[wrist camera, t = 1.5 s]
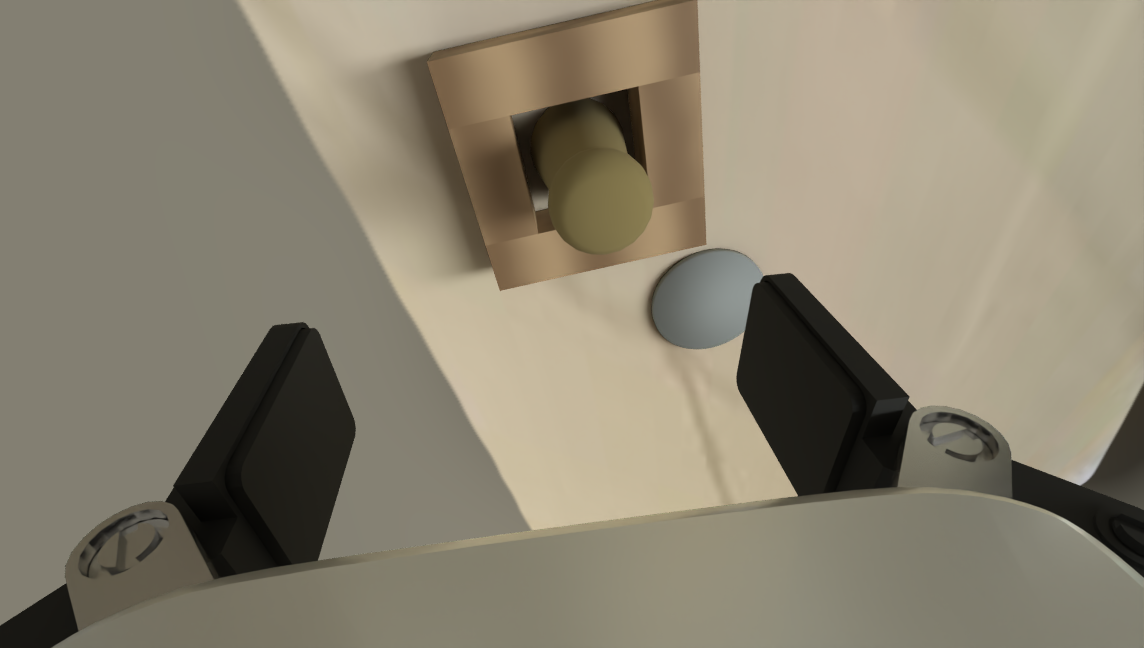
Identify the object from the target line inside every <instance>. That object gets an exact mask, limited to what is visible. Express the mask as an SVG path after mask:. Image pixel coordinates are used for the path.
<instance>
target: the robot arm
mask: <svg viewBox="0 0 1144 648" xmlns="http://www.w3.org/2000/svg"><path fill="white" fill-rule="evenodd" d="M737 386H738V390H739V392H740V394H741V395H742V397H743V399H744V401H745V402H746V404H747V406H748V408H749V410H750V411H751V413H752V415H753V417H754V418H755V420H756V422H757V424H758V425H759V427H760V429H761V431H762V433H763V434H764V436H765V438H766V440H767V441H768V443H769V445H770V447H771V448H772V450H773V452H774V454H775V456H776V457H777V459H778V461H779V463H780V464H781V466H782V468H783V470H784V471H785V473H786V475H787V477H788V479H789V480H790V482H791V484H792V486H793V487H794V489H795V491H796V493H797V494H798V496H797V497H788V498H779V499H771V500H763V501H755V502H747V503H739V504H732V505H724V506H716V507H708V508H700V509H692V510H685V511H677V512H669V513H661V514H653V515H646V516H638V517H630V518H623V519H615V520H608V521H600V522H593V523H585V524H577V525H570V526H562V527H555V528H548V529H540V530H533V531H525V532H518V533H511V534H503V535H495V536H488V537H481V538H474V539H467V540H460V541H452V542H445V543H437V544H431V545H423V546H416V547H409V548H401V549H395V550H387V551H380V552H373V553H365V554H358V555H352V556H345V557H339V558H332V559H326V560H320V561H318V558H319V555H320V551H321V548H322V544H323V541H324V538H325V535H326V531H327V528H328V524H329V521H330V518H331V515H332V511H333V508H334V505H335V501H336V498H337V495H338V491H339V488H340V485H341V481H342V478H343V474H344V471H345V468H346V464H347V461H348V458H349V455H350V451H351V448H352V444H353V441H354V438H355V431H356V430H355V429H356V428H355V421H354V418H353V415H352V413H351V410H350V408H349V406H348V403H347V401H346V398H345V396H344V393H343V391H342V388H341V386H340V383H339V381H338V378H337V376H336V373H335V371H334V368H333V366H332V364H331V361H330V359H329V356H328V354H327V351H326V349H325V346H324V344H323V341H322V339H321V336H320V334H319V332H318V331H317V330H316V329H315V328H311V329H310V328H309V327H308V325H307V324H306V323H303V322H301V323H291V324H281V325H274V326H273V327H272V328H271V329H270V330H269V332H268V333H267V335H266V337H265V338H264V340H263V342H262V343H261V345H260V346H259V348H258V349H257V352H256V353H255V354H254V356H253V358H252V359H251V361H250V363H249V364H248V366H247V367H246V369H245V370H244V372H243V374H242V375H241V377H240V379H239V380H238V382H237V383H236V385H235V387H234V388H233V390H232V391H231V393H230V395H229V396H228V398H227V400H226V401H225V403H224V405H223V406H222V408H221V410H220V411H219V413H218V414H217V416H216V418H215V419H214V421H213V422H212V424H211V425H210V427H209V429H208V430H207V432H206V434H205V435H204V437H203V438H202V440H201V442H200V443H199V445H198V446H197V448H196V450H195V451H194V453H193V454H192V456H191V458H190V459H189V461H188V463H187V464H186V466H185V467H184V469H183V471H182V472H181V474H180V475H179V477H178V479H177V480H176V482H175V484H174V485H173V486H174V488H173V490H172V492H171V493H170V495H169V496H168V498H167V500H166V501H165V502H163V501H154V502H145V503H142V504H138V505H134V506H131V507H129V508H127V509H125V510H122V511H120V512H118V513H116V514H114V515H112V516H111V517H109V518H108V519H106V520H105V521H103V522H102V523H100V524H99V525H97V526H96V527H95V528H94V529H93V530H91V531H90V532H89V533H88V534H87V535H86V536H85V537H83V539H82V540H81V541H80V542H79V543H78V545H77V546H76V547H75V548H74V550H73V551H72V552H71V554H70V557H69V559H68V561H67V563H66V565H65V579H66V584H64V585H63V586H61V587H60V588H58V589H57V590H55V591H54V592H52V593H50V594H49V595H47V596H46V597H44V598H43V599H41V600H39V601H38V602H36V603H35V604H33V605H32V606H30V607H29V608H27V609H26V610H24V611H22V612H21V613H19V614H18V615H16V616H15V617H13V618H11V619H10V620H8V621H7V622H5V623H4V624H2V625H1V626H0V648H1144V510H1142V509H1140V508H1137V507H1135V506H1132V505H1130V504H1127V503H1124V502H1121V501H1119V500H1116V499H1113V498H1111V497H1108V496H1106V495H1103V494H1100V493H1097V492H1095V491H1093V490H1090V489H1087V488H1085V487H1082V486H1079V485H1077V484H1074V483H1071V482H1069V481H1066V480H1063V479H1061V478H1058V477H1056V476H1053V475H1050V474H1048V473H1045V472H1042V471H1040V470H1037V469H1034V468H1032V467H1029V466H1027V465H1024V464H1021V463H1019V462H1016V461H1013V460H1011V451H1010V447H1009V444H1008V442H1007V441H1006V439H1005V438H1004V437H1003V435H1002V434H1001V433H1000V432H999V431H998V430H996V429H995V428H994V427H993V426H992V425H990V424H989V423H988V422H986V421H984V420H982V419H981V418H979V417H977V416H975V415H973V414H970V413H968V412H965V411H963V410H960V409H955V408H951V407H947V406H928V407H923V408H920V409H918V410H916V409H915V408H914V406H913V405H912V404H911V403H910V402H909V401H908V399H909V396H908V395H907V394H906V393H905V391H904V390H903V389H902V388H901V387H900V386H899V385H898V384H897V383H896V382H895V381H894V380H893V379H892V378H891V377H890V376H889V375H888V374H887V373H886V371H885V370H884V369H883V368H882V367H881V366H880V365H879V364H878V363H877V362H876V361H875V360H874V359H873V358H872V357H871V356H870V355H869V354H868V353H867V351H866V350H865V349H864V348H863V347H862V346H861V345H860V344H859V343H858V342H857V341H856V340H855V339H854V338H853V337H852V336H851V335H850V334H849V333H848V332H847V330H846V329H845V328H844V327H843V326H842V325H841V324H840V323H839V322H838V321H837V320H836V319H835V318H834V317H833V316H832V315H831V314H830V313H829V312H828V310H827V309H826V308H825V307H824V306H823V305H822V304H821V303H820V302H819V301H818V300H817V299H816V298H815V297H814V296H813V295H812V294H811V293H810V292H809V290H808V289H807V288H806V287H805V286H804V285H803V284H802V283H801V282H800V281H799V280H798V279H797V278H796V277H795V276H794V275H793V274H791V273H786V274H776V275H766V276H764V277H762V279H761V280H760V283H756V284H754V286H753V289H752V294H751V300H750V305H749V311H748V316H747V321H746V327H745V332H744V338H743V343H742V349H741V354H740V360H739V365H738V371H737Z"/></svg>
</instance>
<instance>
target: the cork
mask: <svg viewBox="0 0 1144 648" xmlns="http://www.w3.org/2000/svg"><path fill="white" fill-rule="evenodd" d="M531 157H532V160H533V163H534V167H535V169H536V170H537V172H538V173H539V175H540V177H541V178H542V180H543V181H544V183H545V184H546V186H547V187H548V189H549V198H548V209H549V214H550V217H551V221H552V224H553V227H554V228H555V230H556V231H557V232H558V234H559V235H560V237H561V238H562V239H563V240H564V241H565V242H566V243H568V244H569V245H570V246H572V247H573V248H575V249H576V250H578V251H581V252H585V253H588V254H594V255H606V254H610V253H613V252H617V251H621V250H622V249H624V248H626V247H627V246H629V245H631V244H632V243H634V242H635V241H636V240H637V239H638V237H639V236H640V235H641V234H642V233H643V232H644V231H645V229H646V227H647V225H648V223H649V221H650V219H651V216H652V210H653V204H654V197H653V191H652V184H651V181H650V179H649V178H648V176H647V174H646V172H645V170H644V169H643V167H642V166H641V165H640V164H639V163H638V162H637V161H636V160H635V159H633V158H632V157H631V156H630V155H629V154H627V150H626V145H625V141H624V136H623V132H622V128H621V126H620V124H619V122H618V120H617V118H616V116H615V115H614V113H613V112H611V111H610V110H609V109H608V108H607V107H606V106H605V105H604V104H602V103H600V102H597V101H595V100H593V99H590V98H585V99H580V100H576V101H572V102H567V103H563V104H559V105H554V106H551V107H550V108H549V109H547V110H546V111H545V112H544V113H543V115H542V116H541V117H540V119H539V120H538V121H537V123H536V125H535V128H534V131H533V133H532V136H531Z"/></svg>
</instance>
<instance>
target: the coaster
mask: <svg viewBox="0 0 1144 648" xmlns="http://www.w3.org/2000/svg"><path fill="white" fill-rule="evenodd" d="M762 277H763V274H762V272H761V271H760V269H759V268H758V267H757V265H756V264H755V263H754V262H753V261H752V260H751V259H750V258H749V257H747V256H746V255H744V254H742V253H740V252H737V251H734V250H729V249H710V250H704V251H701V252H697V253H695V254H692V255H690V256H688V257H686V258H684V259H682V260H681V261H680V262H678V263H677V264H675V265H674V266H673V267H672V268H671V269H670V270H669V271H668V272H667V273H666V274H665V275H664V276H663V278H662V279H661V280H660V282H659V284H658V285H657V287H656V290H655V292H654V295H653V299H652V316H653V319H654V322H655V324H656V327H657V329H658V330H659V332H660V333H661V335H662V336H663V337H664V338H665V339H667V340H668V341H669V342H671V343H672V344H675V345H677V346H680V347H683V348H688V349H706V348H712V347H715V346H719V345H721V344H724V343H726V342H728V341H730V340H732V339H734V338H735V337H737V336H739V335H740V334H741V333H743V332H744V331H745V327H746V321H747V316H748V311H749V305H750V300H751V294H752V289H753V286H754V284H756V283H760V280H761V279H762Z"/></svg>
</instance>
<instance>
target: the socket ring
mask: <svg viewBox="0 0 1144 648" xmlns="http://www.w3.org/2000/svg"><path fill="white" fill-rule="evenodd" d="M427 64H428V68H429V71H430V74H431V77H432V80H433V83H434V86H435V89H436V93H437V96H438V99H439V102H440V105H441V108H442V111H443V114H444V118H445V121H446V124H447V127H448V130H449V133H450V136H451V139H452V142H453V146H454V149H455V152H456V155H457V158H458V161H459V164H460V167H461V171H462V174H463V177H464V180H465V183H466V186H467V189H468V192H469V196H470V199H471V202H472V205H473V208H474V211H475V214H476V217H477V221H478V224H479V227H480V230H481V233H482V236H483V239H484V242H485V246H486V249H487V252H488V255H489V258H490V261H491V264H492V267H493V271H494V274H495V277H496V280H497V283H498V286H499V289H500V291H501V290H505V289H510V288H514V287H519V286H523V285H528V284H532V283H537V282H541V281H546V280H550V279H555V278H559V277H564V276H568V275H572V274H577V273H581V272H586V271H590V270H595V269H599V268H604V267H608V266H613V265H617V264H622V263H626V262H631V261H635V260H640V259H644V258H649V257H653V256H658V255H662V254H667V253H671V252H676V251H680V250H684V249H689V248H693V247H698V246H702V245H706V223H705V196H704V169H703V142H702V115H701V88H700V61H699V34H698V7H697V0H657V1H652V2H648V3H644V4H639V5H635V6H631V7H626V8H622V9H617V10H613V11H609V12H604V13H600V14H596V15H591V16H587V17H583V18H578V19H574V20H570V21H565V22H561V23H557V24H552V25H548V26H544V27H539V28H535V29H531V30H526V31H522V32H518V33H513V34H509V35H505V36H500V37H496V38H492V39H487V40H483V41H479V42H474V43H470V44H466V45H461V46H457V47H453V48H448V49H444V50H440V51H435V52H433V54H432V55H431V56H430V58H429V59H428V61H427ZM624 89H627V91H628V99H629V108H630V117H631V125H632V134H633V143H634V151H635V160H636V161H637V162H638V163H639V164H640V165H641V166H642V167H643V169H644V170H645V172H646V174H647V176H648V178H649V179H650V181H651V184H652V191H653V197H654V204H653V210H652V216H651V219H650V221H649V223H648V225H647V227H646V229H645V231H644V232H643V233H642V234H641V235H640V236H639V237H638V239H637V240H636V241H635V242H634V243H632V244H631V245H629V246H627V247H626V248H624V249H622V250H621V251H617V252H613V253H610V254H606V255H594V254H588V253H585V252H581V251H578V250H576V249H575V248H573V247H572V246H570V245H569V244H568V243H566V242H565V241H564V240H563V239H562V238H561V237H560V235H559V234H558V232H557V231H556V230H555V228H554V227H553V224H552V221H551V217H550V214H549V209H545V210H541V211H536V212H535V209H534V204H533V200H532V196H531V192H530V188H529V184H528V180H527V176H526V172H525V168H524V164H523V160H522V156H521V152H520V147H519V143H518V139H517V135H516V131H515V127H514V123H513V119H512V115H515V114H519V113H523V112H528V111H532V110H537V109H541V108H545V107H550V106H554V105H559V104H563V103H567V102H572V101H576V100H580V99H585V98H589V97H594V96H598V95H602V94H607V93H611V92H616V91H620V90H624Z"/></svg>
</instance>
